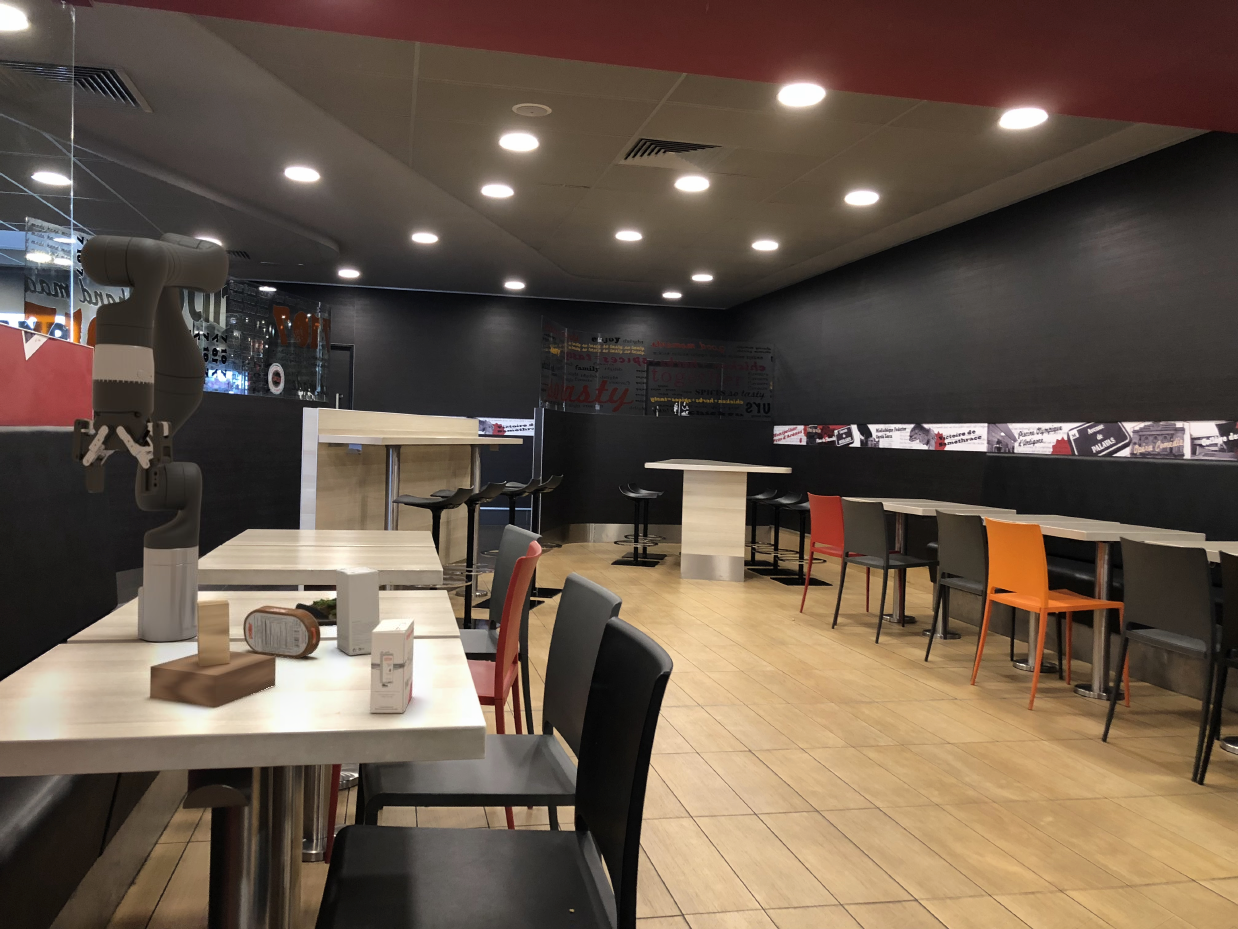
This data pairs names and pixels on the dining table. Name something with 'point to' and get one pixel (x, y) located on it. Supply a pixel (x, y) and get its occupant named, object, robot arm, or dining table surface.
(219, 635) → the oak post
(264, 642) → the tin
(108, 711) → the dining table surface
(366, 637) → the skincare box
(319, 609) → the salad plate
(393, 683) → the ink box
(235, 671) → the walnut slab
